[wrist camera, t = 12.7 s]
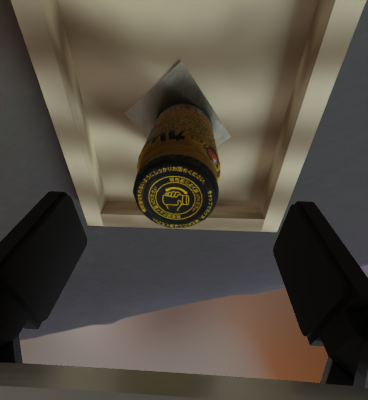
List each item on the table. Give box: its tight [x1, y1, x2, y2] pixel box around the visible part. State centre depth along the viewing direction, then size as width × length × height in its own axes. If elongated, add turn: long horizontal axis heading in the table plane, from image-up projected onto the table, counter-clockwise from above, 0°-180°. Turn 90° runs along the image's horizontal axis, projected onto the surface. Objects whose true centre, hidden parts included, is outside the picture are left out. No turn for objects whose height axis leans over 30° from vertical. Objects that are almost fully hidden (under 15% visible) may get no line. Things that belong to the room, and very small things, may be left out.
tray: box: [11, 0, 366, 232], centre depth 21 cm, size 24×24×4 cm
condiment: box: [125, 61, 231, 228], centre depth 17 cm, size 7×8×12 cm
